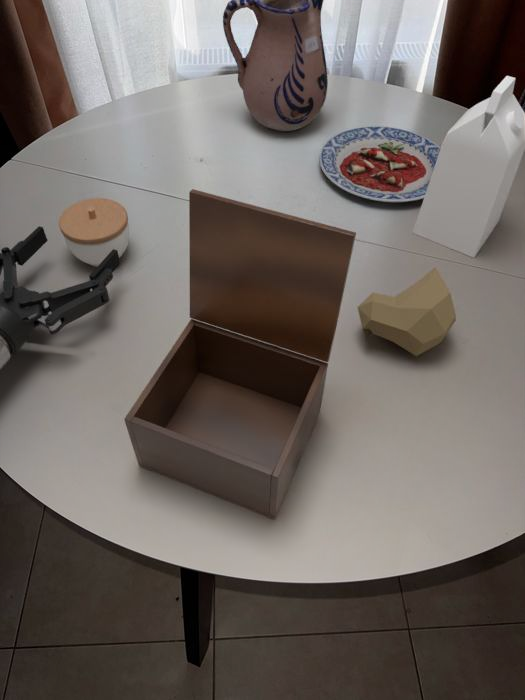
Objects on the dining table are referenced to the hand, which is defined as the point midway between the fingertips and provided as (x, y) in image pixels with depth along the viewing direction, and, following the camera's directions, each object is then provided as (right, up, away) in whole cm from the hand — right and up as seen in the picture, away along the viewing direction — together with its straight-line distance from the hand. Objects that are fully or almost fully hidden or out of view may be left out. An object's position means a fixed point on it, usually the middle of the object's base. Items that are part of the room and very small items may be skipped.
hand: (79, 244), depth 91 cm
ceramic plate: (+53, +19, +25) cm, 61 cm away
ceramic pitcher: (+32, +33, +36) cm, 58 cm away
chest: (+25, -28, -15) cm, 40 cm away
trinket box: (+2, -1, +8) cm, 8 cm away
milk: (+64, +5, +14) cm, 65 cm away
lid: (+29, -9, -25) cm, 39 cm away
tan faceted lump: (+49, -15, -3) cm, 52 cm away
